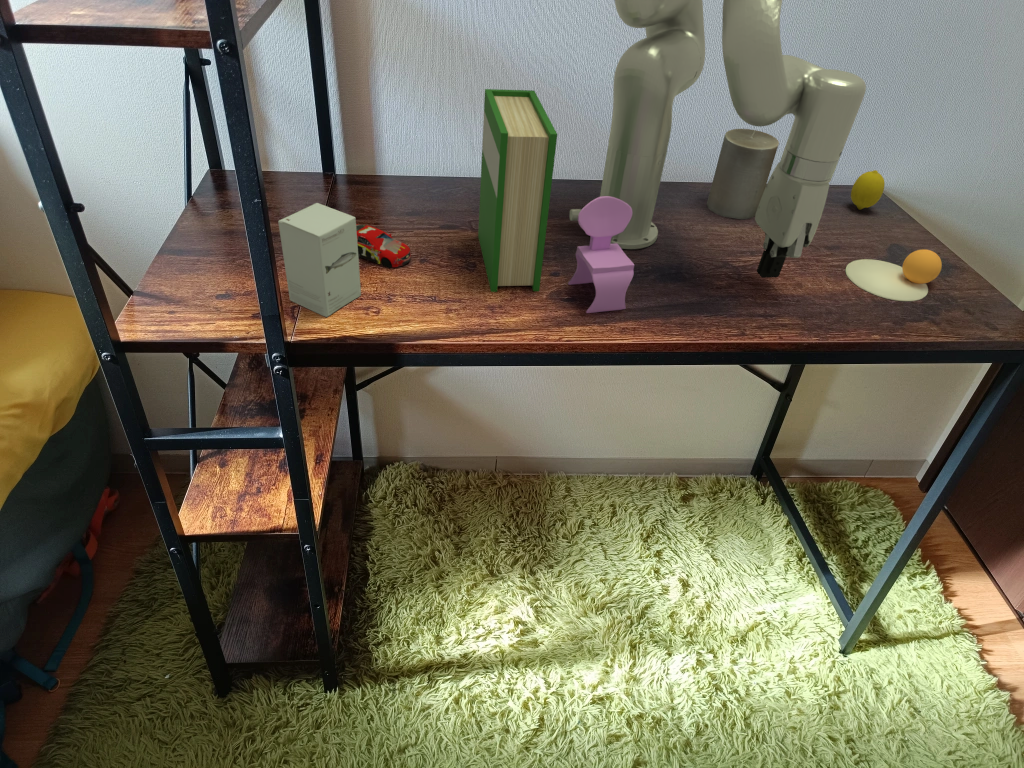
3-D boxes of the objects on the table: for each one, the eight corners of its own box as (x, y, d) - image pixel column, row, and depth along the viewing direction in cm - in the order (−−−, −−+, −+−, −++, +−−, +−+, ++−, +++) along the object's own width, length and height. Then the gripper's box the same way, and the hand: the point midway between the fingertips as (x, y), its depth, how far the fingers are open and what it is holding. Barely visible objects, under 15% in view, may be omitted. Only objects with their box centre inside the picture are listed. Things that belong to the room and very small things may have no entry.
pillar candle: (731, 194, 139) (752, 118, 129) (768, 214, 132) (793, 136, 123) (695, 202, 134) (714, 125, 125) (731, 224, 128) (754, 144, 119)
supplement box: (327, 319, 96) (317, 236, 88) (288, 300, 99) (275, 219, 91) (363, 296, 101) (357, 216, 93) (325, 279, 104) (316, 200, 96)
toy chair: (581, 315, 101) (596, 221, 92) (561, 284, 108) (574, 193, 98) (633, 310, 103) (653, 217, 94) (610, 279, 110) (627, 190, 100)
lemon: (869, 204, 140) (885, 166, 134) (877, 217, 135) (895, 177, 130) (841, 201, 140) (857, 163, 135) (849, 213, 135) (865, 174, 130)
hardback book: (539, 291, 105) (557, 134, 90) (491, 292, 104) (501, 133, 89) (521, 235, 119) (534, 90, 103) (478, 235, 118) (484, 89, 102)
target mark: (873, 302, 110) (873, 301, 110) (830, 261, 120) (831, 260, 120) (944, 299, 112) (945, 298, 112) (897, 259, 122) (897, 258, 122)
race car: (418, 260, 111) (417, 237, 108) (397, 274, 107) (397, 251, 104) (352, 236, 115) (350, 213, 112) (330, 248, 111) (328, 226, 109)
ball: (949, 281, 114) (915, 295, 115) (928, 264, 118) (896, 278, 119) (949, 254, 110) (914, 269, 111) (928, 237, 115) (894, 252, 116)
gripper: (760, 144, 104) (726, 251, 116) (809, 187, 93) (766, 301, 105) (805, 144, 106) (767, 251, 117) (859, 187, 95) (811, 300, 106)
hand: (767, 274), depth 111 cm, fingers closed
